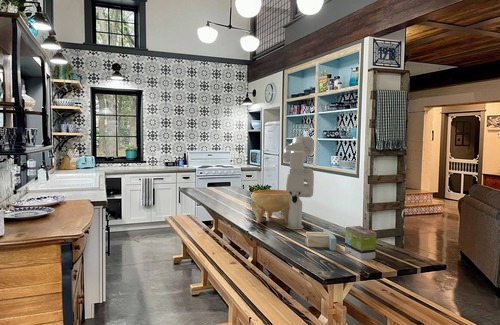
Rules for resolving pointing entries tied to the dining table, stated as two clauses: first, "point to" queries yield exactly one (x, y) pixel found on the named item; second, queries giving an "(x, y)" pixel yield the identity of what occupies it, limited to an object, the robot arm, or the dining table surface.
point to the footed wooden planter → (270, 203)
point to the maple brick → (317, 239)
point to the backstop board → (331, 240)
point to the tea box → (360, 242)
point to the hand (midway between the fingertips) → (294, 202)
